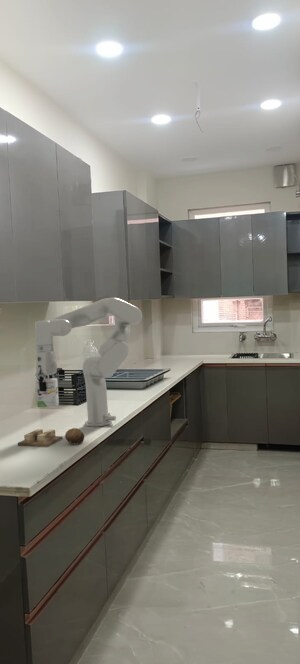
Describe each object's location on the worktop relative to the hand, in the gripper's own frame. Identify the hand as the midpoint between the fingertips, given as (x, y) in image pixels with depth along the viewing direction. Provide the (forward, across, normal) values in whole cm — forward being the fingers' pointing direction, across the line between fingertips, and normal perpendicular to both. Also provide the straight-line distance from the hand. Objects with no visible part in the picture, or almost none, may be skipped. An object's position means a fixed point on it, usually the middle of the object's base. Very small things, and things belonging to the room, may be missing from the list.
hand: (47, 389), depth 222 cm
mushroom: (+20, -12, -19) cm, 30 cm away
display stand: (+20, -13, -3) cm, 24 cm away
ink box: (+7, 0, 0) cm, 7 cm away
